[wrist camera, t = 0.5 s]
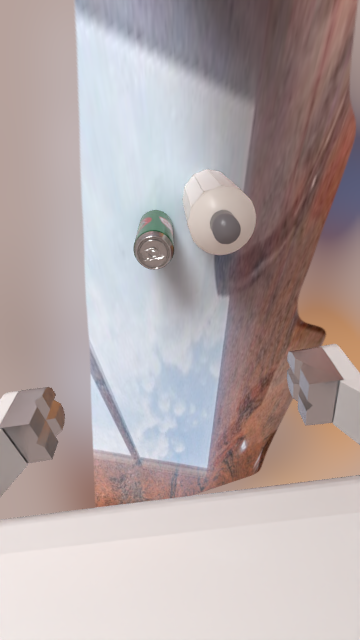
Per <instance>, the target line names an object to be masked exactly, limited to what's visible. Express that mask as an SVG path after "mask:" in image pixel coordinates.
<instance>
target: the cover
mask: <svg viewBox="0 0 360 640" xmlns="http://www.w3.org/2000/svg"><path fill="white" fill-rule="evenodd" d="M182 201H183V205H184V210H185V215H186V219H187V224H188V227H189V230H190V233H191V236H192V239H193V241H194V242H195V243H196V244H197V246H198V247H199V248H201V249H202V250H203V251H205V252H207V253H210V254H214V255H226V254H230V253H233V252H235V251H237V250H239V249H240V248H241V247H243V246H244V245H245V244H246V243H247V242H248V240H249V239H250V237H251V236H252V234H253V231H254V229H255V224H256V212H255V208H254V206H253V203H252V200H251V199H250V198H249V197H248V196H247V195H246V194H245V193H244V192H243V191H242V190H241V189H240V188H238V187H237V186H236V185H235V184H234V183H233V182H232V181H231V180H229V179H228V178H227V177H226V176H225V175H224V174H223V173H221V172H220V171H215V170H210V169H206V170H203V171H201V172H198V173H196V174H194V175H193V176H192V177H191V178H190V180H189V181H188V182H187V183H186V185H185V187H184V193H183V198H182Z"/></svg>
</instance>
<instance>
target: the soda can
mask: <svg viewBox="0 0 360 640" xmlns="http://www.w3.org/2000/svg"><path fill="white" fill-rule="evenodd" d="M173 254H174V243H173V228H172V222H171V219H170V218H169V216H168V215H167V214H165V213H164V212H162V211H159V210H152V211H149V212H147V213H146V214H145V215H144V216H143V217H142V218H141V221H140V224H139V228H138V231H137V235H136V239H135V243H134V255H135V257H136V259H137V261H138V262H139V263H140V264H141V265H143V266H144V267H146V268H148V269H153V270H155V269H160V268H162V267H164V266H166V265H167V264H168V263H169V262H170V261H171V259H172V257H173Z"/></svg>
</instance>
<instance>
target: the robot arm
mask: <svg viewBox="0 0 360 640" xmlns="http://www.w3.org/2000/svg"><path fill="white" fill-rule="evenodd" d="M288 363H289V365H290V368H289V369H288V370H287V380H288V386H289V389H290V393H291V395H292V397H293V399H295V400H296V401H298V410H299V412H300V415H301V417H302V419H303V421H304V423H305V425H315V424H324V423H333V424H334V425H335V426H336V427H338V428H339V429H340V430H341V431H343V432H344V433H345V434H347V435H348V436H349V437H350V438H352V439H353V440H354V441H356V442H357V443H358V444H359V445H360V373H359V372H358V370H357V369H356V368H355V366H354V365H353V364H352V363H351V361H350V360H349V359H348V357H347V356H346V355H345V354H344V352H343V351H342V350H341V348H340V347H339V346H338V345H336V344H332V345H326V346H320V347H315V348H308V349H302V350H295V351H289V353H288ZM55 396H56V394H55V393H54V391H53V389H52V388H49V387H45V388H37V389H29V390H22V391H15V392H7V393H6V394H4V395H3V397H2V398H1V400H0V497H1V496H2V495H3V493H4V492H5V491H6V490H7V489H8V487H9V486H10V485H11V484H12V483H13V482H14V480H15V479H16V478H17V477H18V476H19V474H20V473H21V472H22V471H23V470H24V469H25V468H26V466H27V465H28V464H27V463H33V462H39V461H46V460H52V459H53V456H54V453H55V450H56V447H57V444H58V440H57V438H56V436H57V435H58V434H59V433H60V432H61V431H62V429H63V426H64V419H65V414H64V410H63V407H62V405H61V404H60V403H59V402H57V401H55V400H54V398H55ZM0 640H360V475H356V476H348V477H341V478H332V479H324V480H316V481H308V482H300V483H292V484H283V485H275V486H267V487H259V488H251V489H244V490H235V491H227V492H219V493H211V494H204V495H195V496H187V497H179V498H171V499H163V500H155V501H147V502H139V503H130V504H122V505H114V506H106V507H98V508H90V509H82V510H74V511H65V512H58V513H50V514H41V515H33V516H25V517H17V518H9V519H1V520H0Z"/></svg>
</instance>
